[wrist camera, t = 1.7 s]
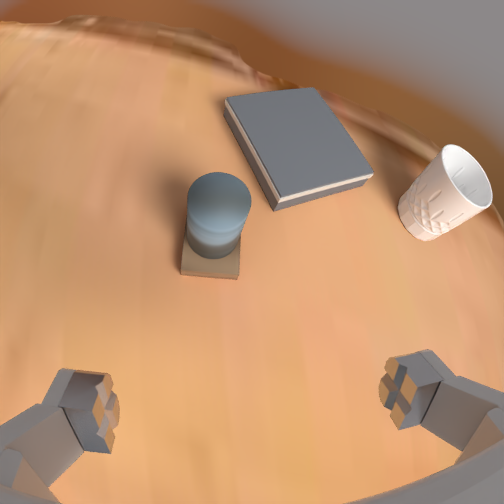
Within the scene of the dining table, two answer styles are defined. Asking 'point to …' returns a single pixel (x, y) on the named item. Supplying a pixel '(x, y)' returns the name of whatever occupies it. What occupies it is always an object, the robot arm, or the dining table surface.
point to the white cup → (445, 194)
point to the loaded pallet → (215, 226)
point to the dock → (295, 145)
